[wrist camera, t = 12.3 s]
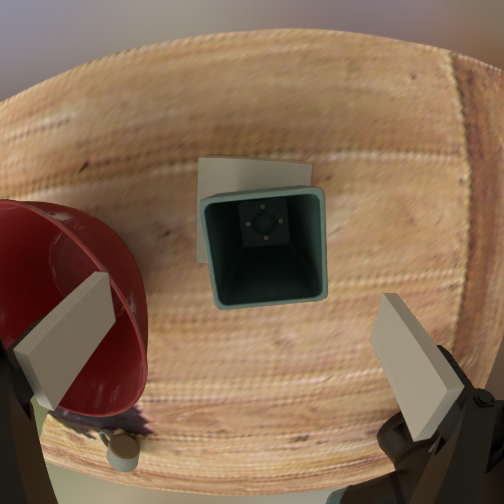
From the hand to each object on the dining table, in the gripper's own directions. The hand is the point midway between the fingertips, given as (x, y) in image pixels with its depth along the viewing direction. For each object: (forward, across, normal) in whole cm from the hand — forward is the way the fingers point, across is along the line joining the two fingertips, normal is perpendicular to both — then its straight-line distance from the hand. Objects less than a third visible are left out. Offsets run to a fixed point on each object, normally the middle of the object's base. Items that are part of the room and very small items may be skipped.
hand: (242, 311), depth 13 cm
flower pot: (+18, -1, 0) cm, 18 cm away
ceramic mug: (+24, +27, +55) cm, 66 cm away
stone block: (+23, 0, 0) cm, 23 cm away
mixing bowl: (+24, +23, +11) cm, 35 cm away
